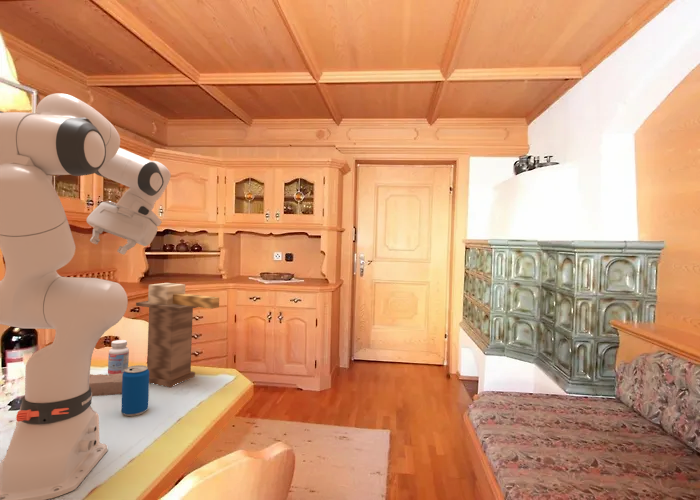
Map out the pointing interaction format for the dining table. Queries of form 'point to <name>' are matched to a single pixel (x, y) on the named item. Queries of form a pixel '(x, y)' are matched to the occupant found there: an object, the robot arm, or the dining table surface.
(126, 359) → the pill bottle
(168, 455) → the dining table surface
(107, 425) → the dining table surface
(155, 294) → the beech mallet
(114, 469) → the dining table surface
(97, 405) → the dining table surface
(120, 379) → the brick
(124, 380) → the beverage can
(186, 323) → the walnut shelf post
